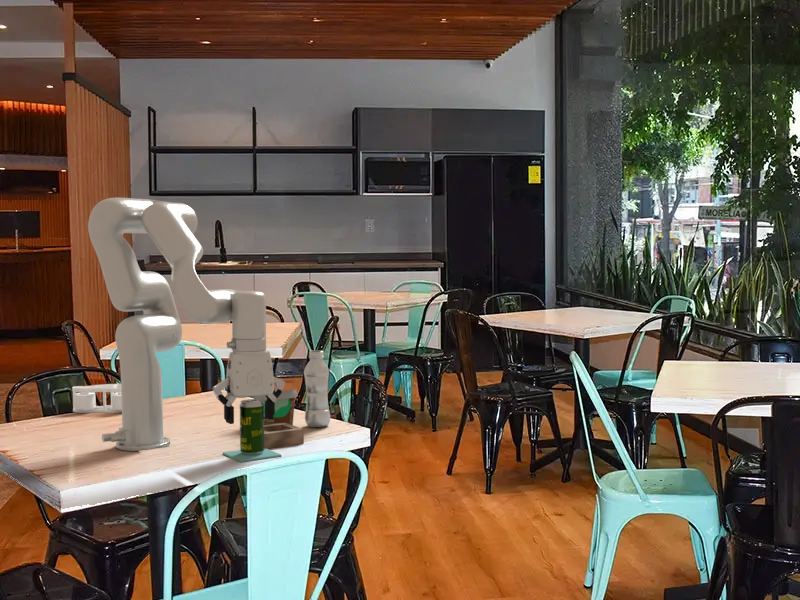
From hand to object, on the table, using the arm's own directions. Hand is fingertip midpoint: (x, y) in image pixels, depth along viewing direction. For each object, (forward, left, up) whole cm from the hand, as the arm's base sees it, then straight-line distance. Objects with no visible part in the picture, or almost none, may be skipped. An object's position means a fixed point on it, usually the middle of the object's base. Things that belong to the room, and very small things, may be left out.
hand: (249, 420), depth 218 cm
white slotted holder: (-10, +77, -8) cm, 78 cm away
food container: (+18, +26, -8) cm, 33 cm away
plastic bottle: (+28, +20, -8) cm, 35 cm away
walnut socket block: (+11, +9, -8) cm, 16 cm away
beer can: (0, 0, -8) cm, 8 cm away
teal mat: (0, 0, -8) cm, 8 cm away
